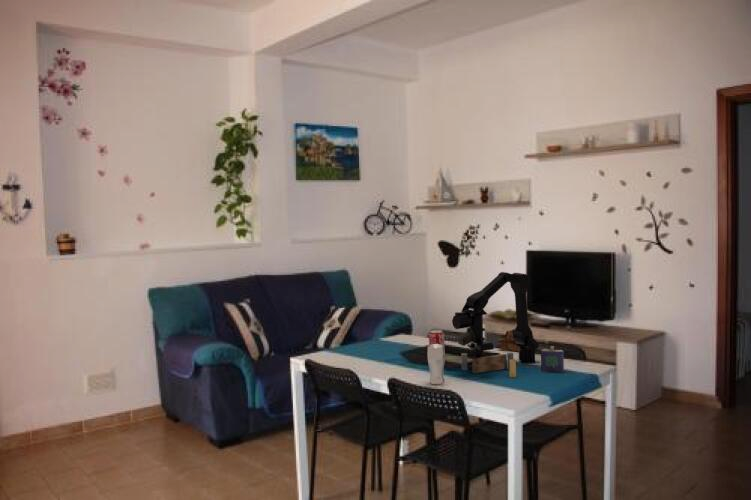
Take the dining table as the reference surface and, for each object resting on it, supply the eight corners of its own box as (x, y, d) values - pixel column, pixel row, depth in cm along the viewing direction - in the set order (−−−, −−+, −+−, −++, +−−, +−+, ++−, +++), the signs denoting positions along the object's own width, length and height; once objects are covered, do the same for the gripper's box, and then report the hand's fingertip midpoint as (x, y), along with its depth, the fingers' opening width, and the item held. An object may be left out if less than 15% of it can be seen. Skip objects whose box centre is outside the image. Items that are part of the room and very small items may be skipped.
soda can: (444, 354, 295) (443, 329, 294) (444, 358, 288) (444, 332, 287) (429, 354, 296) (428, 329, 295) (429, 358, 289) (428, 333, 288)
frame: (512, 368, 268) (512, 352, 268) (516, 377, 255) (516, 361, 254) (461, 368, 270) (461, 353, 270) (462, 377, 257) (462, 361, 257)
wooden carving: (497, 351, 296) (497, 331, 295) (498, 349, 301) (497, 328, 300) (533, 352, 292) (533, 331, 292) (533, 350, 297) (532, 329, 296)
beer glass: (427, 380, 256) (425, 344, 254) (443, 379, 256) (442, 343, 255) (429, 385, 249) (428, 348, 247) (447, 384, 249) (446, 347, 248)
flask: (563, 370, 262) (563, 345, 261) (563, 372, 259) (563, 347, 258) (541, 370, 264) (540, 345, 263) (540, 372, 261) (540, 346, 260)
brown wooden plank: (505, 367, 268) (505, 354, 268) (508, 369, 266) (508, 355, 266) (472, 372, 263) (472, 358, 263) (474, 373, 261) (474, 359, 261)
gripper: (448, 323, 269) (449, 359, 271) (470, 332, 252) (470, 370, 254) (471, 320, 273) (472, 355, 275) (494, 329, 256) (494, 366, 257)
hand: (476, 362), depth 265 cm, fingers closed
